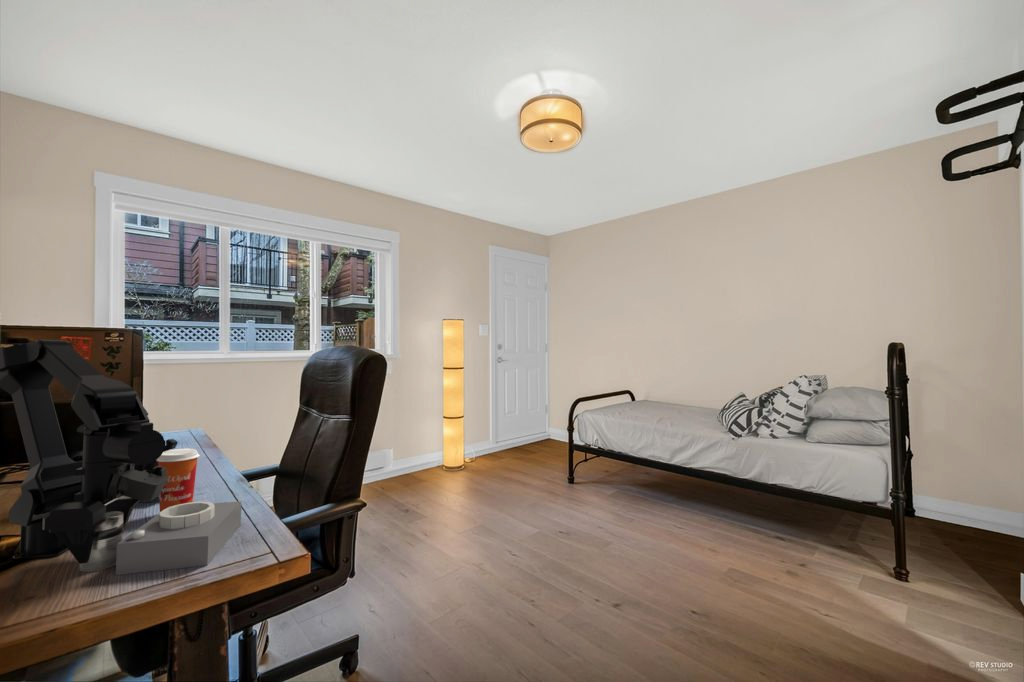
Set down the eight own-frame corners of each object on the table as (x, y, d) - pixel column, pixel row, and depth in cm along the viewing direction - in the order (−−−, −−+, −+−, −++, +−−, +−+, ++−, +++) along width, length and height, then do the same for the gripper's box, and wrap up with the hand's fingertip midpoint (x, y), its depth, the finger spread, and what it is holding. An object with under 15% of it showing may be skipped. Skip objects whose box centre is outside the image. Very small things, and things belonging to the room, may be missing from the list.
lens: (70, 573, 71) (73, 524, 72) (91, 558, 77) (94, 512, 77) (110, 569, 73) (113, 521, 73) (128, 555, 78) (131, 510, 78)
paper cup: (146, 522, 93) (148, 456, 93) (164, 509, 100) (166, 448, 100) (188, 519, 95) (191, 454, 95) (203, 507, 102) (205, 447, 102)
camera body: (115, 574, 71) (117, 531, 71) (168, 531, 88) (169, 496, 89) (207, 565, 75) (208, 524, 75) (240, 525, 92) (241, 491, 92)
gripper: (131, 470, 69) (127, 571, 68) (183, 445, 86) (180, 525, 86) (42, 475, 65) (37, 580, 65) (115, 448, 83) (112, 530, 83)
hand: (101, 550), depth 75 cm, fingers open, 9 cm apart
